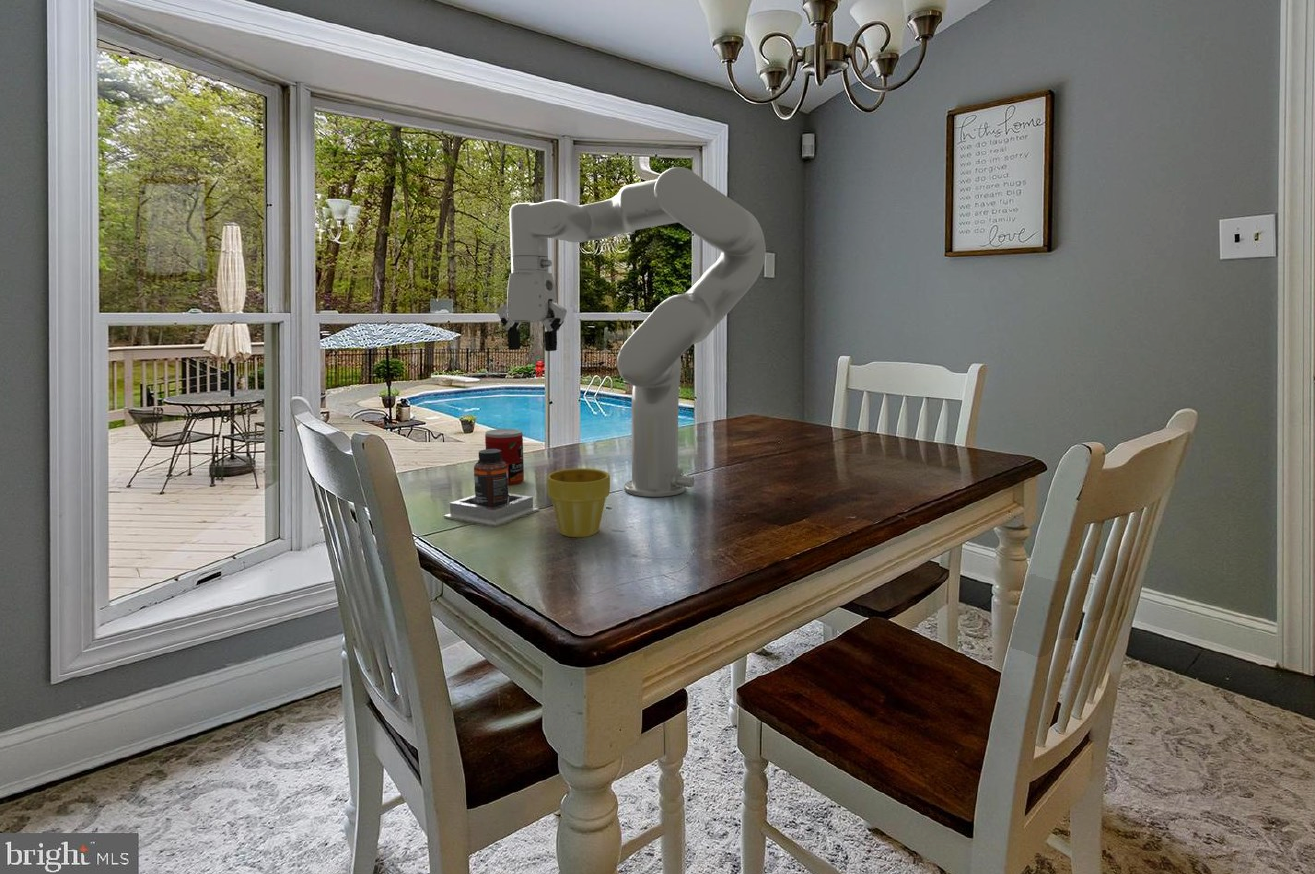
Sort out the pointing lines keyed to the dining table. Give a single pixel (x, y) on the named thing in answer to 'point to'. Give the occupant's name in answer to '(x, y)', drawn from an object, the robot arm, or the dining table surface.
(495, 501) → the supplement bottle
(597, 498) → the plant pot
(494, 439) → the canned food
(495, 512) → the holder
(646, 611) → the dining table surface
